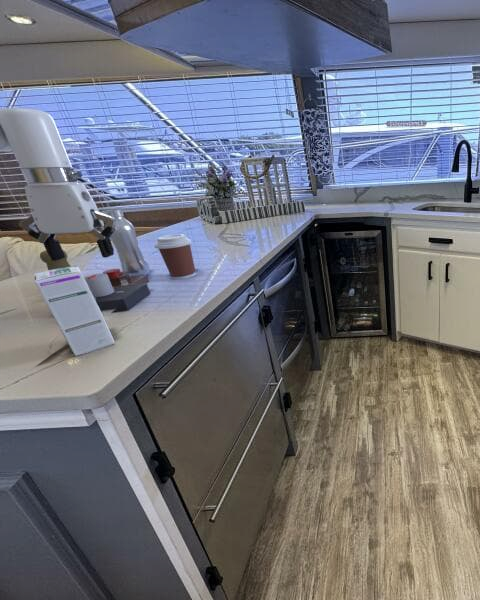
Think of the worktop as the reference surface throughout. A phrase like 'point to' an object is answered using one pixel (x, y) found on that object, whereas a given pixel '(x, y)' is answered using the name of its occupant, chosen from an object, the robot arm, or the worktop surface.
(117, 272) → the ignition button
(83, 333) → the syrup box
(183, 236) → the coffee cup
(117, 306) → the panel
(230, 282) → the worktop surface
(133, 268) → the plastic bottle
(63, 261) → the cork
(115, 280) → the ignition block
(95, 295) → the stove knob
